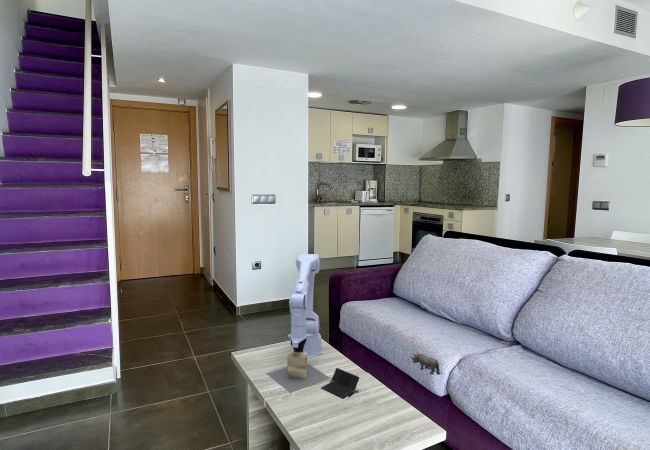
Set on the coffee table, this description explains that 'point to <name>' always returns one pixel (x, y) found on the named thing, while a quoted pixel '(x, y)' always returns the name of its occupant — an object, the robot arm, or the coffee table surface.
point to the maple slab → (297, 365)
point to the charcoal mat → (297, 379)
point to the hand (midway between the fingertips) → (298, 358)
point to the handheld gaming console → (342, 384)
